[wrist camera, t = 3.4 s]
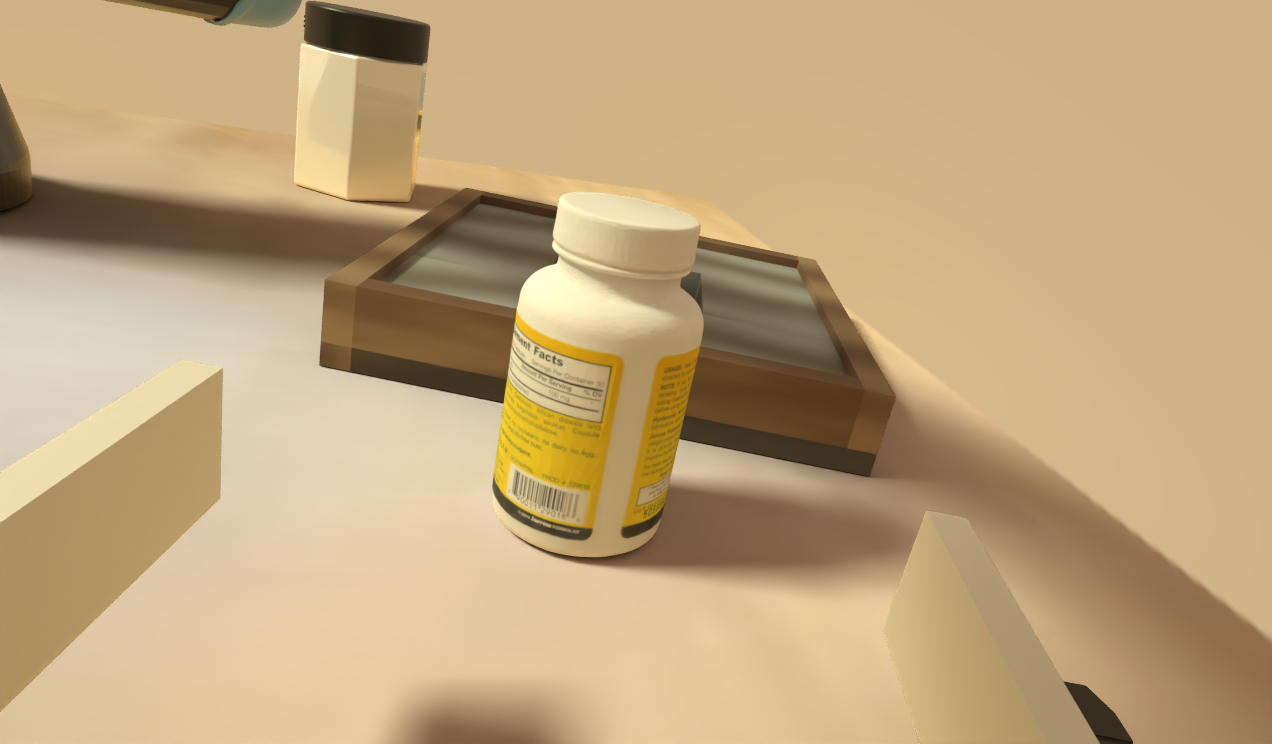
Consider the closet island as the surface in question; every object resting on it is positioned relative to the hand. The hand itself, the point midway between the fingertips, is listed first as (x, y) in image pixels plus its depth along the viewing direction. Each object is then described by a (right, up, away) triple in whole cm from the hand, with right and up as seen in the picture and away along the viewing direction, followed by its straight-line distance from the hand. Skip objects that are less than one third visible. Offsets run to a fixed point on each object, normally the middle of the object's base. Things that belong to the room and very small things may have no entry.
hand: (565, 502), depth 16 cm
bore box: (0, +4, +28) cm, 28 cm away
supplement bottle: (-1, -2, +11) cm, 12 cm away
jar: (-19, +16, +47) cm, 53 cm away
